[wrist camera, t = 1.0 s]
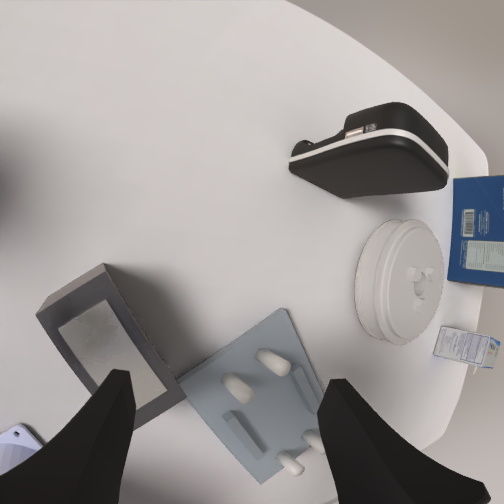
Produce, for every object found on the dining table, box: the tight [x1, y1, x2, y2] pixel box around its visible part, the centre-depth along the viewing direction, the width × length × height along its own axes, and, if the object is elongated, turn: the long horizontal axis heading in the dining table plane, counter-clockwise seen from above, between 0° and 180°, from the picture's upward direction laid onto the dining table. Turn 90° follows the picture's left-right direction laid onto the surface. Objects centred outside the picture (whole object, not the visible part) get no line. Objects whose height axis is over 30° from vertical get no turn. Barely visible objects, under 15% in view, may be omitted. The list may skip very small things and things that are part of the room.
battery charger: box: [289, 102, 449, 198], centre depth 21 cm, size 7×4×11 cm, turn 74°
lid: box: [355, 220, 444, 345], centre depth 30 cm, size 13×13×5 cm
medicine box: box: [433, 326, 500, 368], centre depth 37 cm, size 8×4×9 cm, turn 70°
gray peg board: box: [176, 308, 326, 484], centre depth 23 cm, size 10×15×4 cm, turn 28°
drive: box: [36, 263, 187, 431], centre depth 17 cm, size 4×8×5 cm, turn 28°
